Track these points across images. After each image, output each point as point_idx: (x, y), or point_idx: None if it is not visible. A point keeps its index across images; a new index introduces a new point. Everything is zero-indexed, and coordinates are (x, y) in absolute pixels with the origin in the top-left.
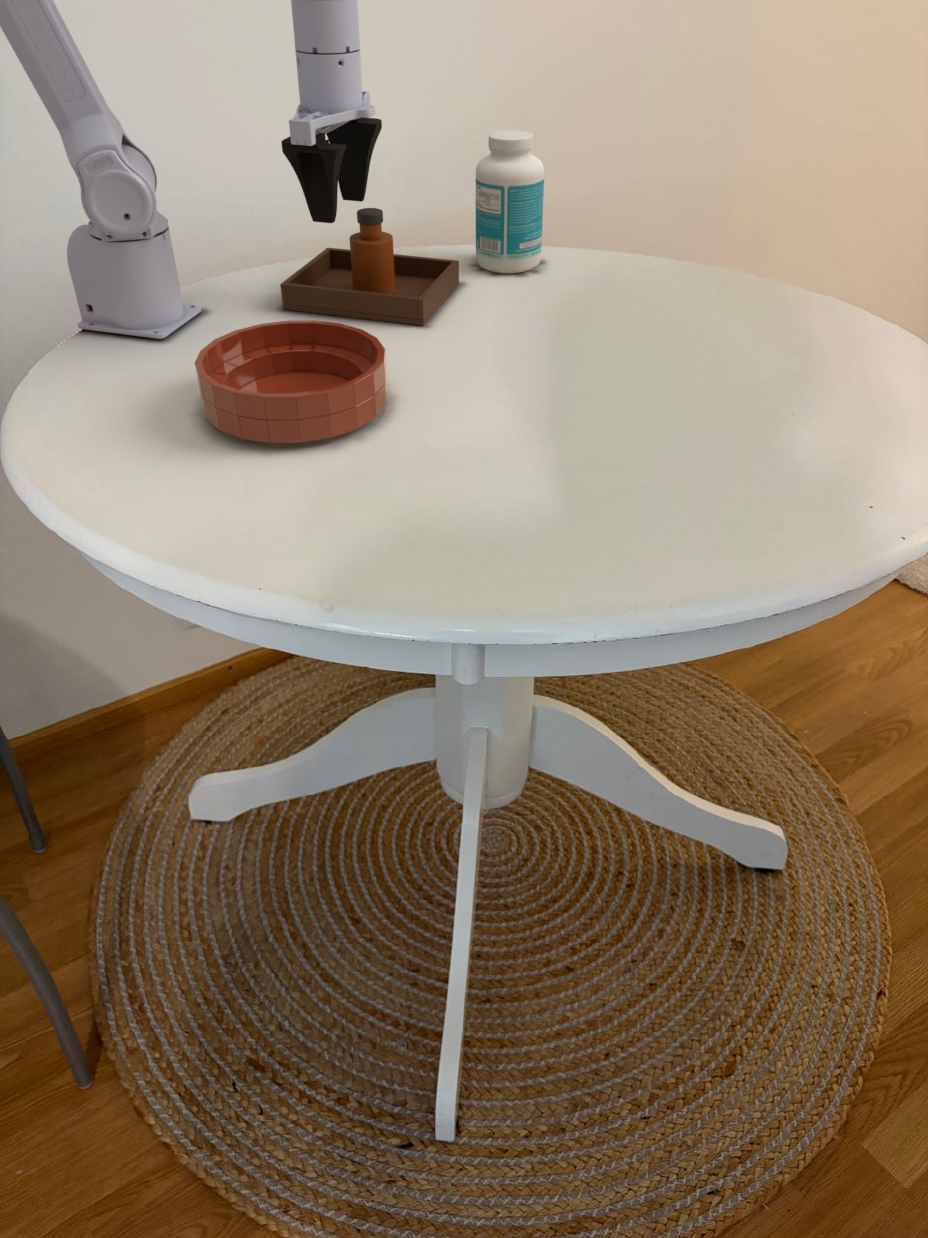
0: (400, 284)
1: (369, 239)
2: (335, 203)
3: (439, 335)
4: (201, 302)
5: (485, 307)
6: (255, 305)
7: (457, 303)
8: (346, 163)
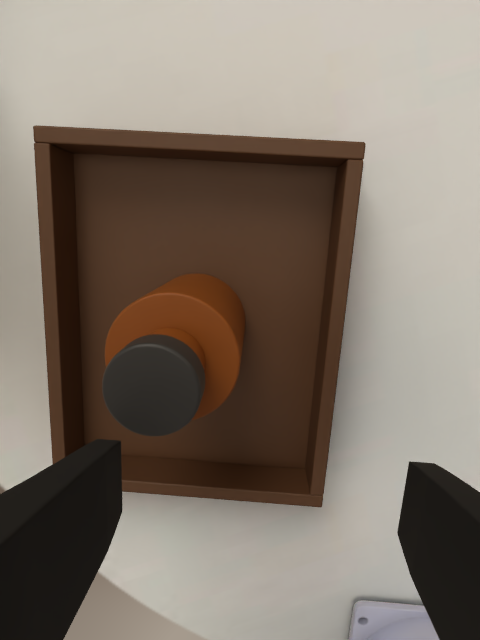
0: (139, 274)
1: (204, 356)
2: (473, 496)
3: (399, 100)
4: (307, 614)
5: (197, 27)
6: (302, 525)
7: (188, 111)
8: (42, 620)
